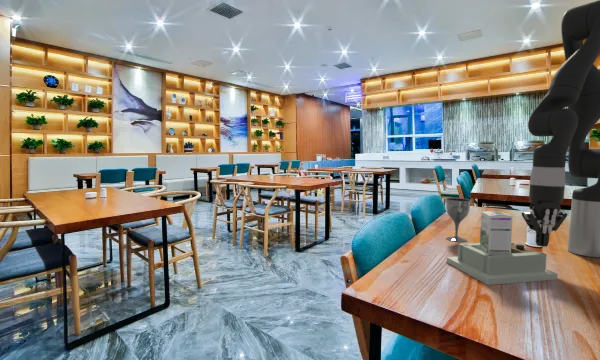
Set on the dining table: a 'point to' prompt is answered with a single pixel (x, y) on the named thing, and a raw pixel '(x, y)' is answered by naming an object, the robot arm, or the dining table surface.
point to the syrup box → (495, 232)
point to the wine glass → (457, 214)
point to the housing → (501, 265)
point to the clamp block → (519, 249)
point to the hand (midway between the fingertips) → (541, 245)
